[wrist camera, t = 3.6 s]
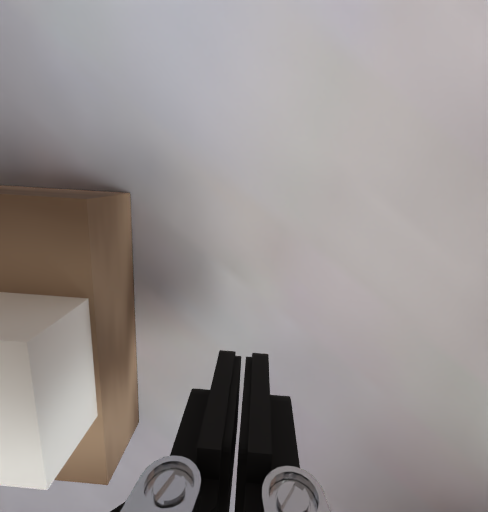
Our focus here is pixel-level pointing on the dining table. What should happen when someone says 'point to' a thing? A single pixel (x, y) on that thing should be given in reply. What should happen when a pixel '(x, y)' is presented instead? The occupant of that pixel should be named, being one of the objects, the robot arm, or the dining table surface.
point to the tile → (43, 385)
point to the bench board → (82, 286)
